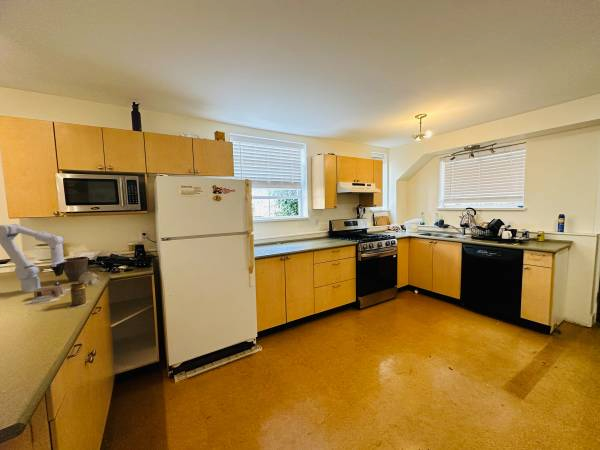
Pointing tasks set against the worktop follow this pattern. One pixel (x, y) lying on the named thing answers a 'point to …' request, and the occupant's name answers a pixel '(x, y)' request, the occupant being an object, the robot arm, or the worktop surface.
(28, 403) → the worktop surface
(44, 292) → the block
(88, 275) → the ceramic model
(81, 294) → the condiment
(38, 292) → the tunnel deck
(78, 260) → the plant pot
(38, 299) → the slider frame
